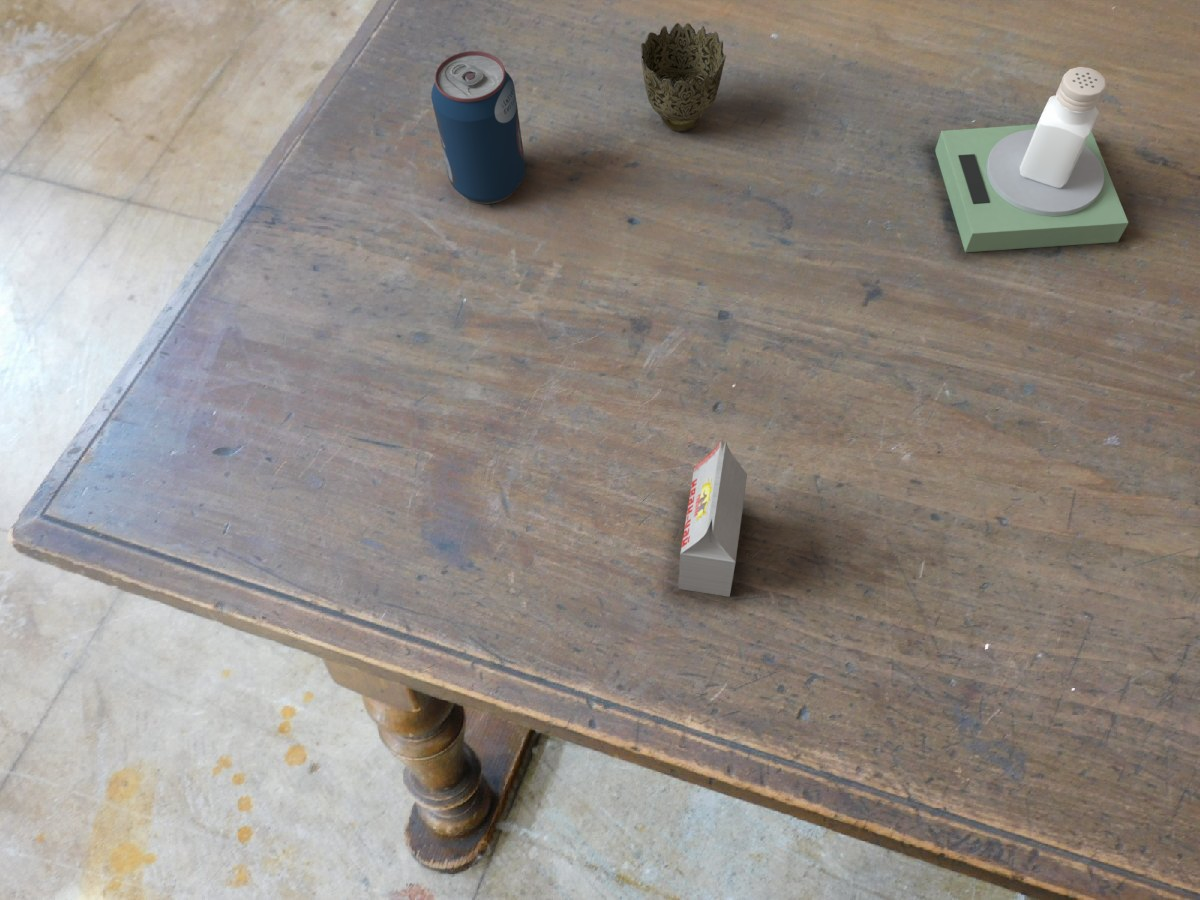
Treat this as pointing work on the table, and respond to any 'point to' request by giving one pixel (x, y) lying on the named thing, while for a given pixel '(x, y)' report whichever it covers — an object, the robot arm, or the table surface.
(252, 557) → the table surface
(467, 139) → the soda can
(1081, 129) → the pepper shaker
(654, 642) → the table surface
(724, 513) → the grey upright carton
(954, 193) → the kitchen scale
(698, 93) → the cup
